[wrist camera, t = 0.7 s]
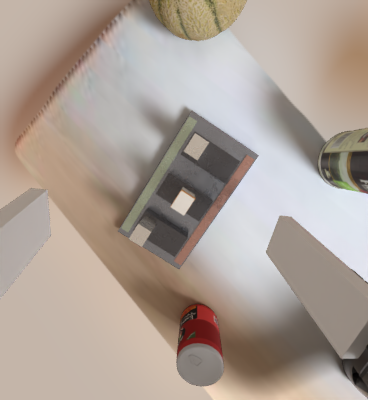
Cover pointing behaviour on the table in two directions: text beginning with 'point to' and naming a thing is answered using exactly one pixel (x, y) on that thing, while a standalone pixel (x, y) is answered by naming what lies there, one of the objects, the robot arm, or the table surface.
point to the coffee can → (346, 161)
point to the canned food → (199, 346)
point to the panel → (194, 180)
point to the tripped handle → (183, 201)
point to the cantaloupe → (197, 16)
